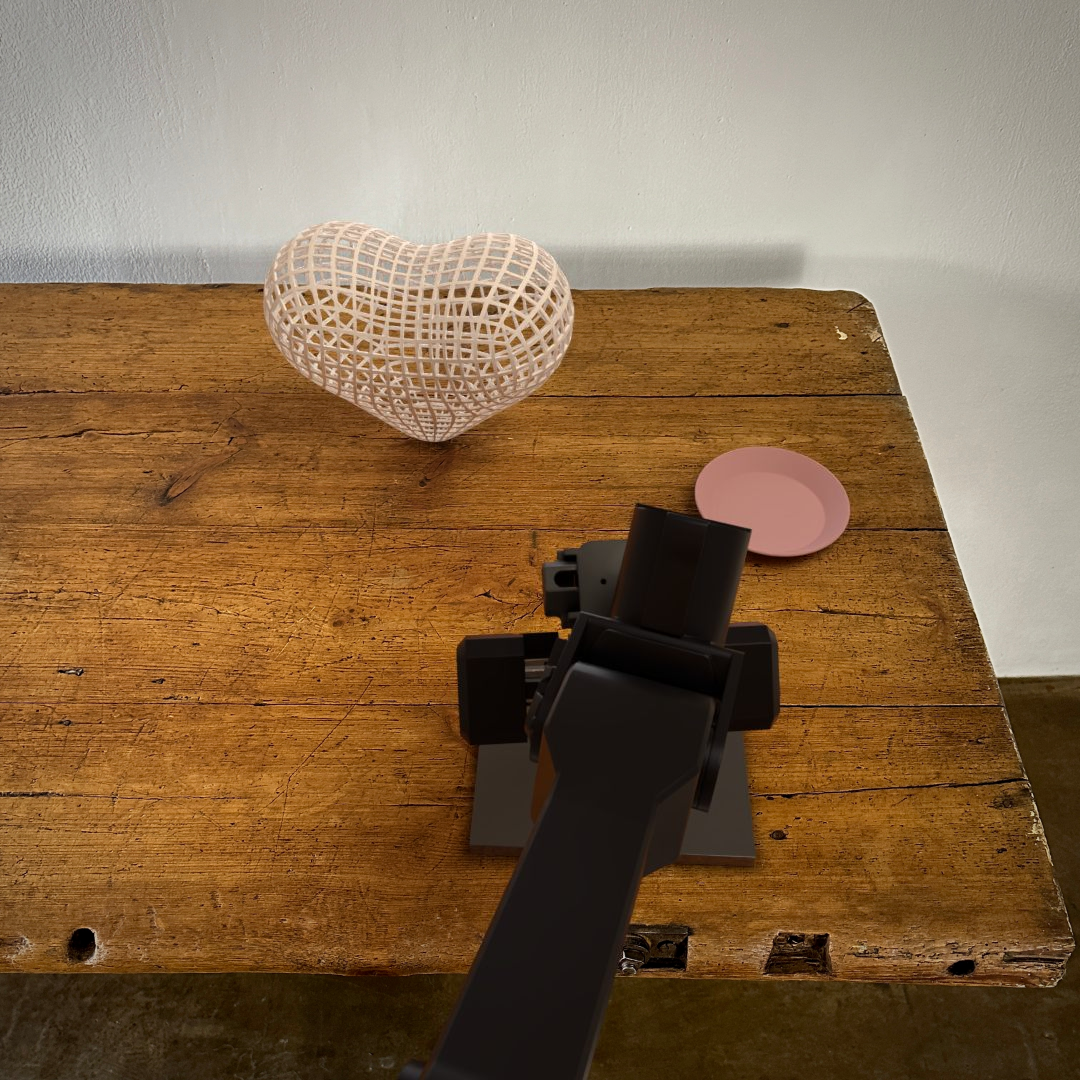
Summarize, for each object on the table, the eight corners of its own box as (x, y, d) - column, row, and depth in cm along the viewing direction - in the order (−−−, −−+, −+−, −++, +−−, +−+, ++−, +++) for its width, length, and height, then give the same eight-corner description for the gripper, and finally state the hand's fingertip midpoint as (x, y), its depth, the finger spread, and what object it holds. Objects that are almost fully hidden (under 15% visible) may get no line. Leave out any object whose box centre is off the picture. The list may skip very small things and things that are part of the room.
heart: (275, 476, 95) (221, 278, 79) (321, 377, 105) (281, 184, 89) (559, 505, 92) (564, 307, 76) (577, 401, 103) (585, 207, 86)
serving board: (752, 867, 68) (756, 857, 67) (470, 854, 69) (469, 844, 68) (735, 698, 78) (737, 688, 77) (486, 688, 78) (485, 678, 77)
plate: (842, 582, 86) (847, 568, 85) (682, 553, 88) (684, 538, 87) (847, 474, 95) (852, 459, 94) (702, 450, 98) (705, 435, 96)
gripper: (809, 543, 50) (733, 535, 66) (446, 559, 49) (457, 547, 65) (815, 757, 50) (739, 698, 66) (456, 777, 50) (464, 712, 65)
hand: (601, 660), depth 66 cm, fingers closed on ice cream cone, 5 cm apart
